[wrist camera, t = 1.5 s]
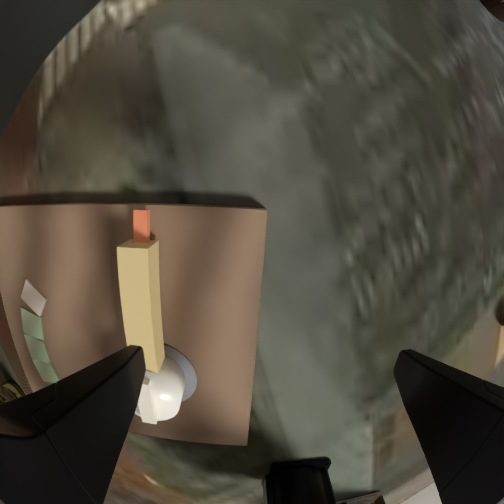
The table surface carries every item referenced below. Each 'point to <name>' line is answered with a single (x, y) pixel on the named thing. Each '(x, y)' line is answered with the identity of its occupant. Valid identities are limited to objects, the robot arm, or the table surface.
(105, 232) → the tuner board
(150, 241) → the tuner pointer lever
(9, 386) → the cup
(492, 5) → the coffee mug
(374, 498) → the coffee box
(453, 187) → the table surface
